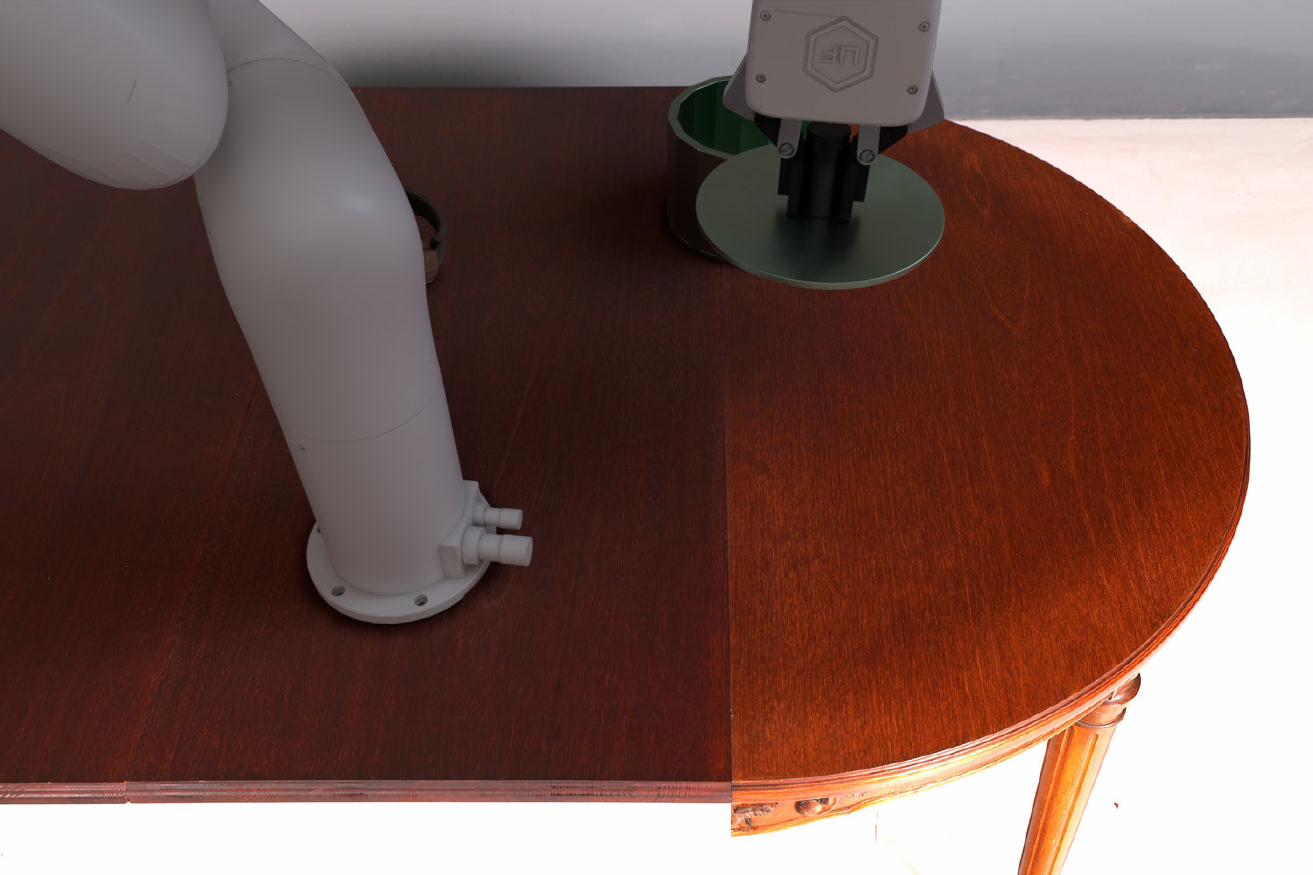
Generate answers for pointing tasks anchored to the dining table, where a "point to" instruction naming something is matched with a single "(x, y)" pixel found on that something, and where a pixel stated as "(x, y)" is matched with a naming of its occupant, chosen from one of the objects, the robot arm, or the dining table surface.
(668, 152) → the pot
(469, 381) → the dining table surface
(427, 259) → the pottery mug
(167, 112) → the robot arm
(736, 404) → the dining table surface
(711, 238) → the lid
